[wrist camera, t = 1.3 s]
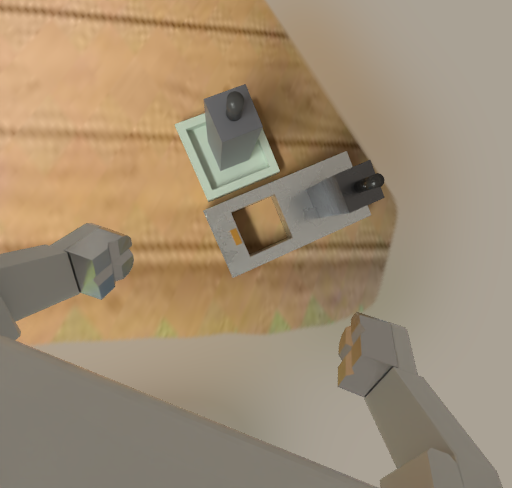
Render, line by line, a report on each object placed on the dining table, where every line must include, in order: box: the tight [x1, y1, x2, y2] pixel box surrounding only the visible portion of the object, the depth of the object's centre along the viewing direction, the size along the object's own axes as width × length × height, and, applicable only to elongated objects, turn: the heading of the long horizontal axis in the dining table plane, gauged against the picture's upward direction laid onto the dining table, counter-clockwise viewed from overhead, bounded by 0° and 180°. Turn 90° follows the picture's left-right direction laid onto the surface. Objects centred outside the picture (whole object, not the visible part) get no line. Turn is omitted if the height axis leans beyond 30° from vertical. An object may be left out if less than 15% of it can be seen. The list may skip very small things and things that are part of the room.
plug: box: [204, 84, 263, 171], centre depth 28 cm, size 4×4×13 cm
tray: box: [175, 113, 280, 202], centre depth 35 cm, size 10×10×2 cm
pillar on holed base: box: [203, 151, 384, 277], centre depth 30 cm, size 20×9×14 cm, turn 113°
